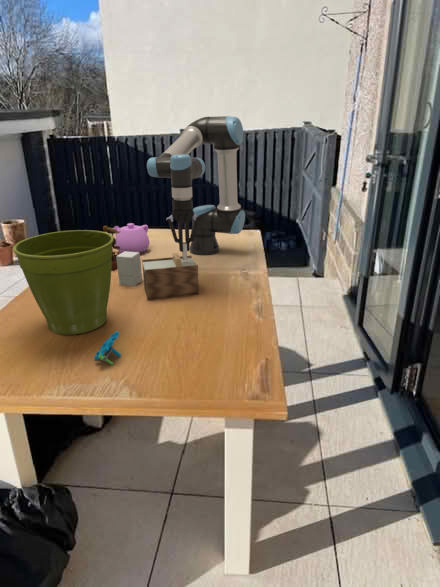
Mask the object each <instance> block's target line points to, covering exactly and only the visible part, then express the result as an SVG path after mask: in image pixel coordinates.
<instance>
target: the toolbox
mask: <svg viewBox="0 0 440 587" xmlns="http://www.w3.org/2000/svg"><path fill="white" fill-rule="evenodd" d="M180 258H181V259H183V258H182V255H181V256H180ZM187 258H192V259H193V255H187ZM172 259H173V256H170V257H160V258H158V257H157V258H148V259H142V261H141V262H150V261H161V260H172ZM141 266H142V272H143V273H142V277H143V285H144V286H143V287H144V290H145V291H144V292H145V295H146V298H147V301H149V300H151V301H152V300H158V299H159V300H160V299H171V298H178V297H186V296H195V295H196V296H198V295H200V292H199V290H200V289H199V288H200V285H199V284H200V282H199V265H198V264H196V265H191V266H180V267H169V268H158V269H147V270H145V271H144V267H143V263H142V264H141Z"/></svg>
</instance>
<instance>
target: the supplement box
mask: <svg viewBox="0 0 440 587" xmlns="http://www.w3.org/2000/svg"><path fill="white" fill-rule="evenodd" d="M140 254H141V252H127V251H124V252H123V253H119V255H118V256H116V259H117V268H118V270H117V273H118V274H117V276H118V281H119V282H118V283H119V286H120V285H121V286H128V287H129V286H131V287H135V286H137V285H138V284H140V283H141V282H143V273H142V272H143V271H142V264H141V262H142V261H141V255H140Z"/></svg>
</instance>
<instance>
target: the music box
mask: <svg viewBox="0 0 440 587" xmlns="http://www.w3.org/2000/svg"><path fill="white" fill-rule="evenodd" d="M102 229H103V232H105V233H108V234H111V235H112V236H113V242H112V267H111V272H113V271H118V270H117V269H118V268H117V259H116V256H118V255H119V254H120V251H119V250H118V249H120V246H115V244H116V240H117V238H116V236H117V235H116V233H120V231H117V230H115V228H114V227H113V228H112V227H110V226H109V227H108V225H103V227H102ZM114 235H115V237H114ZM115 239H116V240H115ZM113 249H114V250H113ZM115 250H117V252H116V251H115Z"/></svg>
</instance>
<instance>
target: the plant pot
mask: <svg viewBox="0 0 440 587" xmlns="http://www.w3.org/2000/svg"><path fill="white" fill-rule="evenodd" d="M113 237H114V235H113V236H112V234H109V233H107V232H106V231H105V232H104V231H102V230H101V231H100V230H92V229H91V230H90V229H89V230H88V229H83V230H81V229H77V230H76V229H75V230H74V229H73V230H61V231H60V230H59V231H54V232H48V233H42V234H39V235H38V234H37V235H35V236H31V237H27V238H25V239H23V240H21V241H18V242H17V243H15V244H14V246H13V247H12V249H13V250H12V251H13V252H14V254H15V255H16V257H17V260H18V264H19V267H20V269H21V270H22V272H23V275H24V277H25V280H26V282H27V285H28V287H29V289H30V291H31V293H32V294H31V295H32V296H33V298H34V300H35V302H36V304H37V306H38V308H39V310H40V311H41V314H42V315H43V316H44V318H45V320H46V323H47V326H48V327H47V328H48V329H49V330H50V331H51V332H52V333H54V334H58V335H65V336H67V335H69V336H70V335H71V336H73V335H81V334H84V333H89V332H92V331H94V330H96V329H98V328H100V327H101V326H103V325H104V324H105V322H106V321H107V319H108V312H107V311H108V310H107V309H108V305H109V297H110V291H111V283H112V282H111V279H112V271H111V267H112V248H113V247H112V242H113Z"/></svg>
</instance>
